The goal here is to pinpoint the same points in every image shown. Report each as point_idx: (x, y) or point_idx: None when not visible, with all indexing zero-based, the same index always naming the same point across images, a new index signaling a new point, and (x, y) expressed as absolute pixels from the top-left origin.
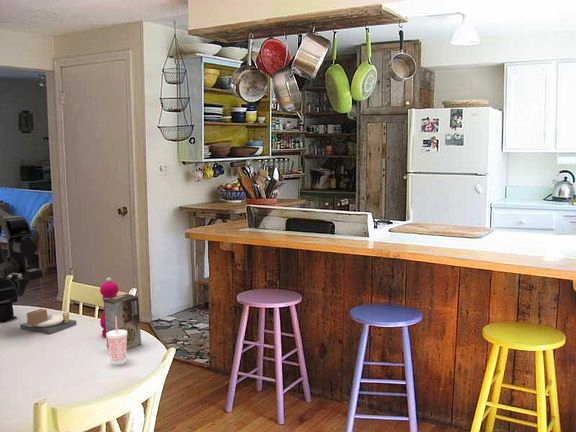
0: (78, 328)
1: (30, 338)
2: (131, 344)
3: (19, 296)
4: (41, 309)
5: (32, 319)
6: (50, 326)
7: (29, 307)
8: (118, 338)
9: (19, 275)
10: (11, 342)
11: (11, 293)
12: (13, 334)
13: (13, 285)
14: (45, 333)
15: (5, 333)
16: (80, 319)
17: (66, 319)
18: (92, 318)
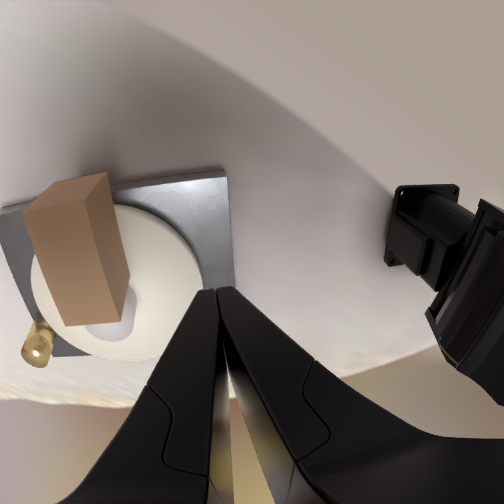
0: (7, 319)
1: (16, 113)
2: None
3: (210, 288)
4: (94, 312)
5: (43, 194)
6: None
7: (423, 345)
8: None
9: None
10: (44, 17)
11: (459, 322)
12: (159, 86)
13: (350, 388)
14: (24, 202)
15: (223, 71)
16: (116, 382)
17: (29, 331)
18: (96, 401)
